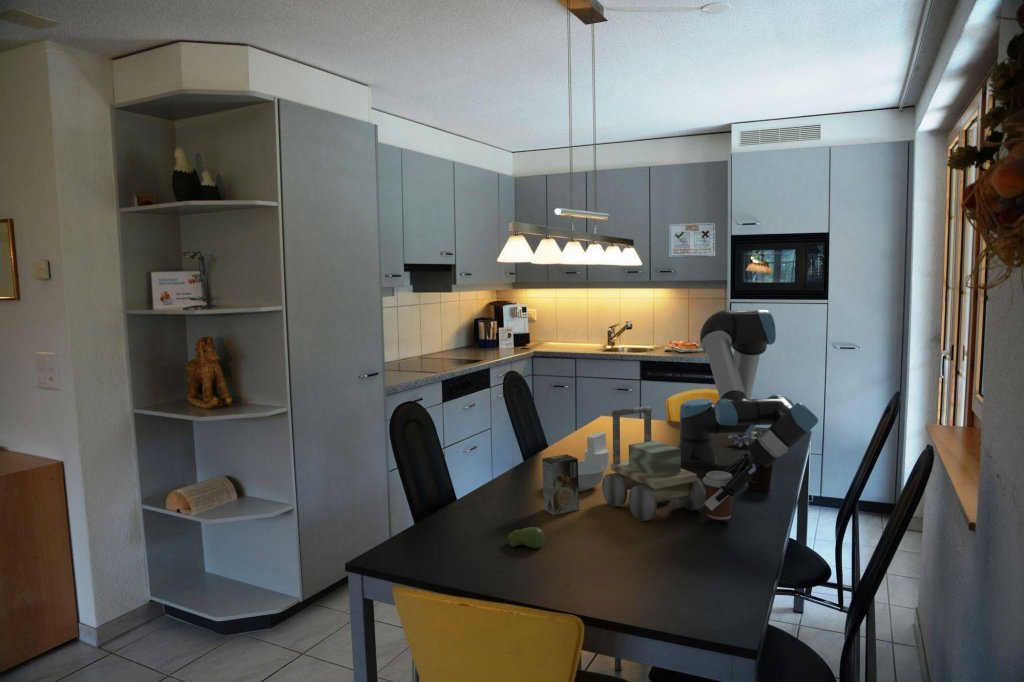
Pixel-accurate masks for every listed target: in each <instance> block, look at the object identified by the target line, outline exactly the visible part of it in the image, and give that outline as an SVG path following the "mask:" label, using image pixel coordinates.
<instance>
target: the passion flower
mask: <svg viewBox="0 0 1024 682" xmlns="http://www.w3.org/2000/svg"><path fill="white" fill-rule="evenodd" d="M756 428H757V425H756V426H755V428H754V430H753V431H752V432H751V433H749V434H742V435H727V437H726V438H727V439H733V440H734V442H733V444H734V446H735V445H738V448H742V447H743V445H744V444H745V446H747V447H748V446H749V445H750V444H751V443H750V441H751V440H753V441H755V440H759V436H760V435H761V434H762V433H761V431H760V430H755V429H756ZM757 434H759V435H757Z"/></svg>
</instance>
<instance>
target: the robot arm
mask: <svg viewBox="0 0 1024 682" xmlns="http://www.w3.org/2000/svg"><path fill="white" fill-rule="evenodd" d="M776 333H777V332H776V324H775V320H774V317H773V314H772V313H771V312H770V310H767V309H744V310H743V309H739V310H738V309H735V310H734V309H733V310H732V309H731V310H729V309H724V310H719V311H717V312H715V313H713V314H711V316H709V317H708V318H707V319H706V321H704V323H703V325H702V328H701V330H700V333H699V342H700V345H701V348H702V349H701V350H702V351H704V352H705V353H706V355H707V358H708V362H709V365H710V369H711V372H712V376H713V380H714V383H715V387H716V390H717V393H718V398H719V399H718V400H717V401H716V402H715V403H714V401H712V399H710V398H698V399H697V398H696V399H691V400H686V401H685V402H683V403H681V405H680V408H679V409H680V410H679V415H678V416H679V443H678V447H677V448H680V449H681V466H685V467H691V468H710V467H712V466H716V465H717V464H718V456H717V454H716V450H715V447H714V444H713V435H714V436H715V435H720V436H721V435H722V436H723V435H724V436H725V435H727V436H729V435H742V434H749V433H751V432H752V431H755V429H754V428H755V426H756V427H757V426H769V427H768V428H767V429H765V430H764V431H762V433H761V435H760V434H759V435H758V436H759V440H753V441H752V442H751V443H749V445H748V446H747V447H746V448H747V450H748V452H749V453H747V452H746V453H744V454H743V455H742V456H741V457H740V458H739V459H737V460H736V461H734V462H733V463H732V464H731V465H730V466H728V467H727V468H726V469H725V470H722V471H723V472H728V473H730V474H731V475H732V479H731V480H730V481H729V482H728V483H727V484H726V485H725V487H724V486H721V489H720V490H718V491H717V492H716V493H715V494H714V495H713V496H712V497H710V498H709V499H708V500H707V501H706V502H705V503H704V504H705V505H704V506H706V508H707V507H708V508H709V509H710V510H711V511H712V510H713V509H714V508H715V507H717V506H718V505H719V504H720V503H721V502H722V501H723V500H725V499H726V498H727V497H728V496H730V495H731V496H733V497H734V495H735V494H736V493H737V492H739V490H740V489H741V488H742V487H744V485H745V484H746V483H748V480H749V479H750V478H751V477H752V476H754V475H755V474H756V473H757V472H758V471H757V467H758V466H759V465H760V464H762V465H763V466H765V467H769V466H770V465H771V464H772V463H773V464H774V462H775V461H777V458H780V457H781V456H782V455H783V454H787V453H788V450H789V449H790V448H791V447H793V446H794V445H795V444H797V443H798V441H799V440H801V439H803V438H804V437H805V435H807V434H808V433H809V432H811V430H812V429H813V428H814V427H815V426H816V425H817V424H818V422H819V418H818V417H817V416H816V415H815V414H814V413H813V412H812V411H811V410H810V409H809V408H808V407H807V406H806V405H805V404H804V403H802V402H800V401H799V402H796V403H795V404H794V403H793V401H792V400H790V399H789V398H787V397H786V396H784V395H783V394H778V393H776V394H775V393H774V394H772V395H770V396H768V397H767V398H751V397H752V393H753V391H754V390H753V389H754V385H755V380H756V374H757V370H758V366H759V363H760V362H759V361H760V358H761V357H760V356H761V355H762V354H764V353H765V352H766V351H767V346H768V345H769V346H771V345H773V344H775V342H776V336H777V334H776ZM732 350H733V351H732ZM776 457H777V458H776ZM703 493H704V494H705V495H706V491H704V492H703Z"/></svg>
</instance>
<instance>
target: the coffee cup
mask: <svg viewBox="0 0 1024 682" xmlns="http://www.w3.org/2000/svg"><path fill="white" fill-rule="evenodd" d="M723 471H724V470H711V471H708V472H707V473H706V474H705V476H704V477H703V478H702V481H701V482H702V484H703V485H704V488H705V491H706V501H707V500H708V499H709V498H710V497H712V496H713V495H714V494H715V493H716V492H717V491H718V490H720V489H721V486H724V487H725V485H726V484H727V483H728V482H729V481H730V480H731V479H732V475H731V474H730V473H728V472H723ZM733 497H734V495H733V496H731V495H730V496H728V497H727V498H726V499H725V500H723V501H722V502H721V503H720V504H719V505H718V506H717V507H715V508H714V509H713V510H712V511H711V510H710V509H709V508H708V507H707V506H706V511H707V513H706V515H707V517H709V518H711V519H713V520H721V521H722V520H723V521H724V520H729V519H731V517H732V508H733V499H734V498H733Z"/></svg>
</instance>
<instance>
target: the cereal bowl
mask: <svg viewBox="0 0 1024 682" xmlns="http://www.w3.org/2000/svg"><path fill="white" fill-rule="evenodd" d="M604 473H605V469H604V468H603V466H601V465H599V464H597V463H592V462H585V461H579V460H578V483H579V492H585V491H589V490H591V488H594V487H595V486H596V487H597V486H598V485H599V484H600V483H602V481H603V478H604V475H605V474H604Z"/></svg>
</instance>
